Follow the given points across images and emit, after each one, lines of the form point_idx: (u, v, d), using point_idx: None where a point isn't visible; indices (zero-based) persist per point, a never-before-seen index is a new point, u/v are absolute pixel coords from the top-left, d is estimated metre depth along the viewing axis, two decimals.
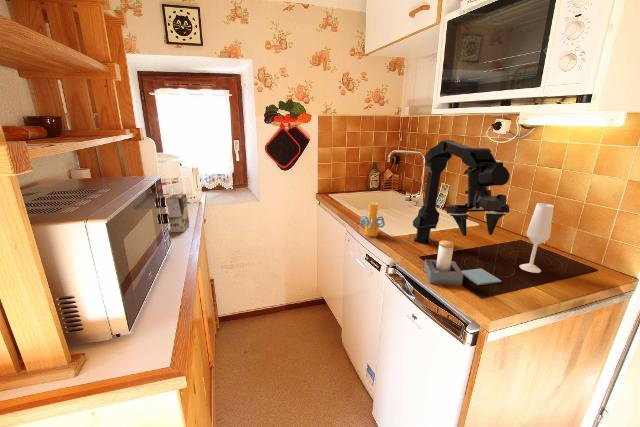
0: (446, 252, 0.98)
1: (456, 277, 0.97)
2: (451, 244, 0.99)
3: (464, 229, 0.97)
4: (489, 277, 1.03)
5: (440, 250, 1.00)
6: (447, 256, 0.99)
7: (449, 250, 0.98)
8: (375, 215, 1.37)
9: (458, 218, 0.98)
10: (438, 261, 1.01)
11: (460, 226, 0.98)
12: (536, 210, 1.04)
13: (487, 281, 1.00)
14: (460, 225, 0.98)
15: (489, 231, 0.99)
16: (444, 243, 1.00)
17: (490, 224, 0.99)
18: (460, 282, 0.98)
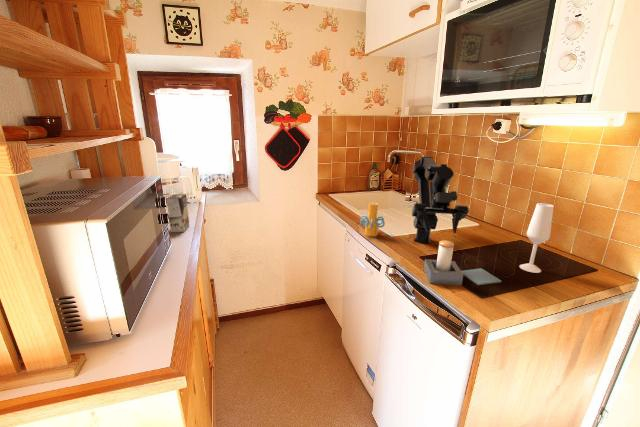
0: (446, 252, 0.98)
1: (456, 277, 0.97)
2: (451, 244, 0.99)
3: (426, 224, 1.08)
4: (489, 277, 1.03)
5: (440, 250, 1.00)
6: (447, 256, 0.99)
7: (449, 250, 0.98)
8: (375, 215, 1.37)
9: (422, 218, 1.11)
10: (438, 261, 1.01)
11: (423, 224, 1.10)
12: (536, 210, 1.04)
13: (487, 281, 1.00)
14: (423, 223, 1.10)
15: (453, 230, 1.07)
16: (444, 243, 1.00)
17: (454, 224, 1.08)
18: (460, 282, 0.98)
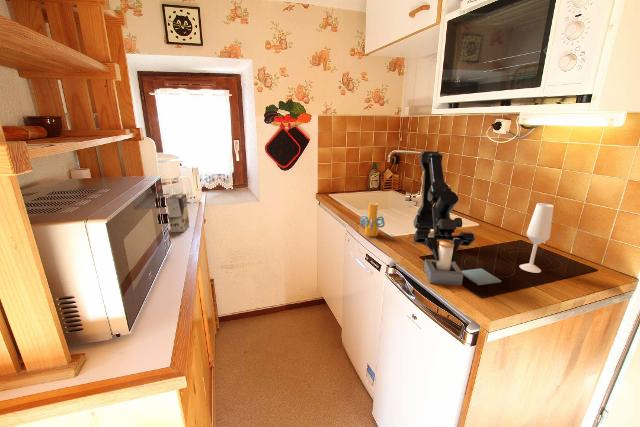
0: (446, 252, 0.98)
1: (456, 277, 0.97)
2: (451, 244, 0.99)
3: (436, 253, 1.01)
4: (489, 277, 1.03)
5: (440, 250, 1.00)
6: (447, 256, 0.99)
7: (449, 250, 0.98)
8: (375, 215, 1.37)
9: (431, 245, 1.04)
10: (438, 261, 1.01)
11: (433, 252, 1.02)
12: (536, 210, 1.04)
13: (487, 281, 1.00)
14: (433, 251, 1.02)
15: None
16: (444, 243, 1.00)
17: None
18: (460, 282, 0.98)
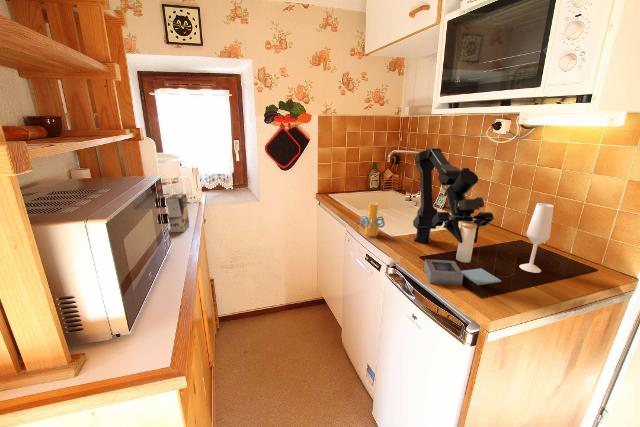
0: (470, 234, 0.96)
1: (456, 277, 0.97)
2: (474, 225, 0.96)
3: (459, 235, 0.98)
4: (489, 277, 1.03)
5: (463, 232, 0.97)
6: (470, 237, 0.96)
7: (473, 231, 0.96)
8: (375, 215, 1.37)
9: (451, 228, 1.01)
10: (461, 243, 0.98)
11: (455, 234, 0.99)
12: (536, 210, 1.04)
13: (487, 281, 1.00)
14: (454, 233, 1.00)
15: None
16: (467, 224, 0.97)
17: None
18: (460, 282, 0.98)
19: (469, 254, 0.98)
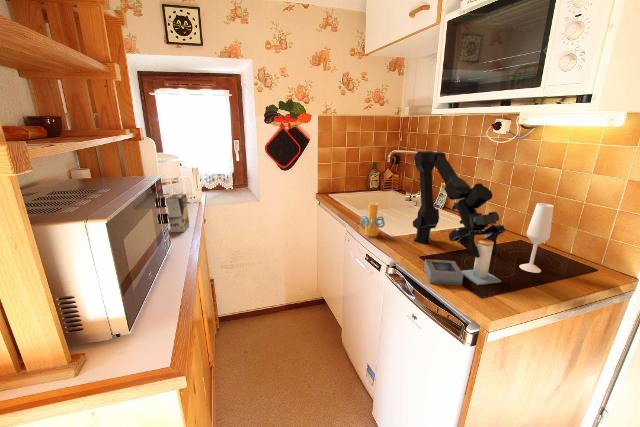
0: (488, 251, 0.99)
1: (456, 277, 0.97)
2: (491, 242, 0.99)
3: (475, 250, 0.99)
4: (489, 277, 1.03)
5: (482, 249, 0.99)
6: (489, 254, 0.99)
7: (491, 248, 0.99)
8: (375, 215, 1.37)
9: (466, 243, 1.02)
10: (479, 260, 1.01)
11: (471, 249, 1.01)
12: (536, 210, 1.04)
13: (487, 281, 1.00)
14: (470, 248, 1.01)
15: (493, 252, 1.01)
16: (484, 241, 1.00)
17: None
18: (460, 282, 0.98)
19: (487, 270, 1.01)
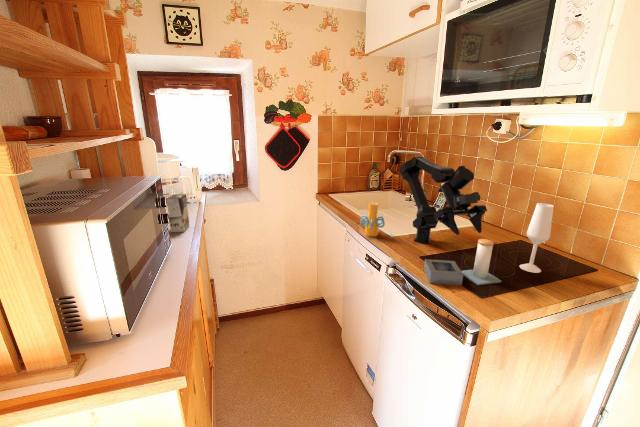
0: (488, 251, 0.99)
1: (456, 277, 0.97)
2: (491, 242, 0.99)
3: (455, 227, 1.06)
4: (489, 277, 1.03)
5: (482, 249, 0.99)
6: (489, 254, 0.99)
7: (491, 248, 0.99)
8: (375, 215, 1.37)
9: (447, 221, 1.09)
10: (479, 260, 1.01)
11: (451, 227, 1.08)
12: (536, 210, 1.04)
13: (487, 281, 1.00)
14: (451, 226, 1.08)
15: (478, 230, 1.09)
16: (484, 241, 1.00)
17: (476, 224, 1.10)
18: (460, 282, 0.98)
19: (487, 270, 1.01)
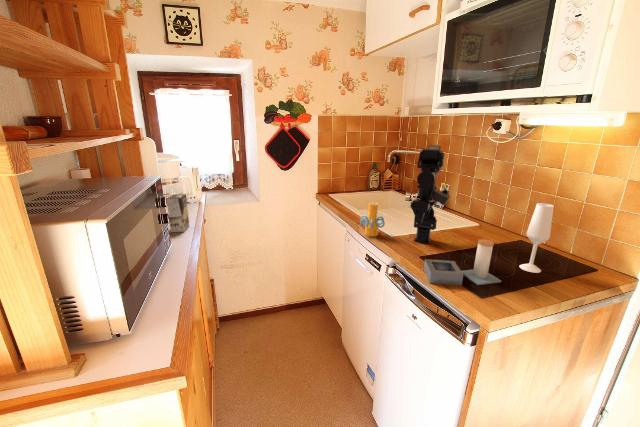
0: (488, 251, 0.99)
1: (456, 277, 0.97)
2: (491, 242, 0.99)
3: (422, 220, 1.14)
4: (489, 277, 1.03)
5: (482, 249, 0.99)
6: (489, 254, 0.99)
7: (491, 248, 0.99)
8: (375, 215, 1.37)
9: (417, 211, 1.13)
10: (479, 260, 1.01)
11: (418, 217, 1.14)
12: (536, 210, 1.04)
13: (487, 281, 1.00)
14: (418, 216, 1.14)
15: (425, 216, 1.23)
16: (484, 242, 0.99)
17: None
18: (460, 282, 0.98)
19: (487, 270, 1.01)
